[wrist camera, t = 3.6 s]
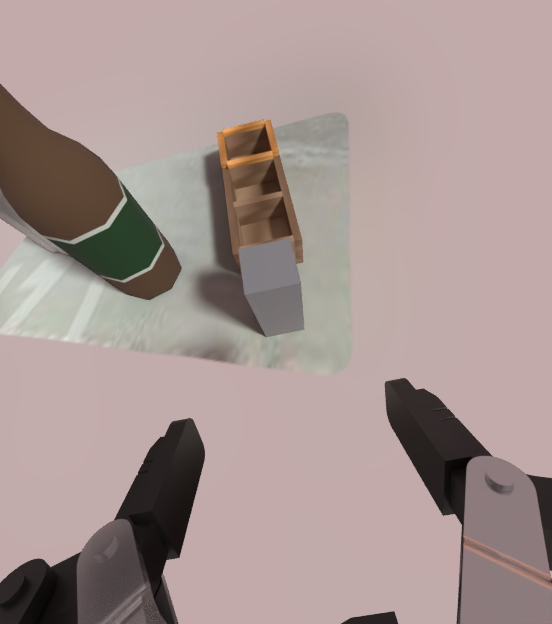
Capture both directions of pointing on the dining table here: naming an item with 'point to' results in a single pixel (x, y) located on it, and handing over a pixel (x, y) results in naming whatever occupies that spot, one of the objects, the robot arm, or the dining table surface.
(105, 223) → the beer bottle
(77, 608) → the robot arm
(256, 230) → the bay rack
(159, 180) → the dining table surface
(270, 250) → the block
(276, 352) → the dining table surface
